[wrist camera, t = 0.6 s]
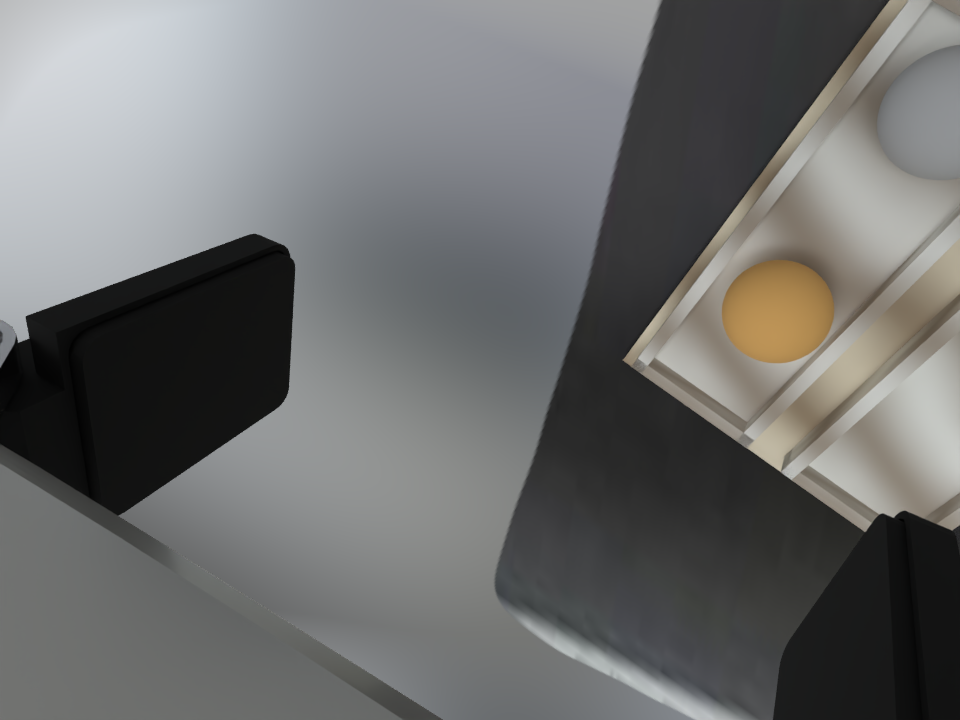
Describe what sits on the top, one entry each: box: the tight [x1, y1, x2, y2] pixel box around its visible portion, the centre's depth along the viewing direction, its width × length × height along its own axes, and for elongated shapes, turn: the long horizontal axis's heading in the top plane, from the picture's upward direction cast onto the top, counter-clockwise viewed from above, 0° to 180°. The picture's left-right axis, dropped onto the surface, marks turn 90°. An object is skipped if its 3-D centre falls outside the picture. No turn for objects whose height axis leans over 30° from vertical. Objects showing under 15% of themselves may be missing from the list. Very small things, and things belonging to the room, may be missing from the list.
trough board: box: [623, 0, 960, 532], centre depth 33 cm, size 24×19×3 cm
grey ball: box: [877, 45, 960, 180], centre depth 27 cm, size 5×5×5 cm
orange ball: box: [722, 260, 834, 363], centre depth 33 cm, size 5×5×5 cm
